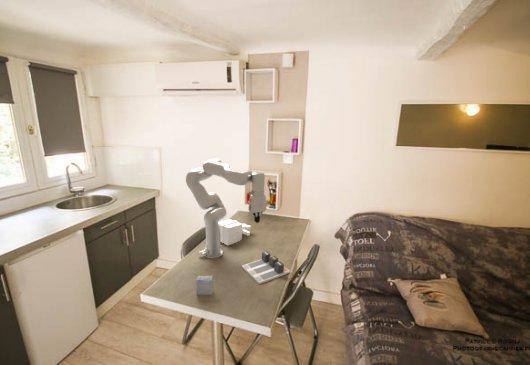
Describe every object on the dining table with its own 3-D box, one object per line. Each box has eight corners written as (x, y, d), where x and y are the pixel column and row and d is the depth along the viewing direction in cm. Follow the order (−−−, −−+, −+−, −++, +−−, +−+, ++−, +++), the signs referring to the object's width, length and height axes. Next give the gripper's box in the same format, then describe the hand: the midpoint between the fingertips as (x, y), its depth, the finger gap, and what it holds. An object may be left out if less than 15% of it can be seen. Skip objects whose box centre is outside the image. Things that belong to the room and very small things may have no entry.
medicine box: (213, 289, 134) (213, 275, 132) (211, 295, 130) (211, 280, 128) (198, 289, 134) (197, 275, 132) (196, 295, 129) (195, 280, 127)
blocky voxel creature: (258, 239, 198) (232, 249, 177) (236, 230, 213) (210, 238, 192) (259, 221, 195) (233, 229, 174) (237, 213, 211) (210, 220, 190)
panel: (259, 284, 140) (259, 274, 138) (241, 267, 156) (242, 257, 154) (289, 272, 152) (290, 263, 150) (270, 257, 168) (271, 249, 166)
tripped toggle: (272, 267, 154) (273, 260, 153) (269, 264, 157) (269, 257, 156) (277, 265, 156) (278, 258, 155) (274, 262, 159) (274, 255, 158)
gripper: (250, 196, 141) (249, 226, 145) (271, 193, 149) (270, 221, 153) (243, 193, 147) (243, 222, 151) (264, 190, 155) (263, 217, 159)
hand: (257, 221), depth 152 cm, fingers closed
